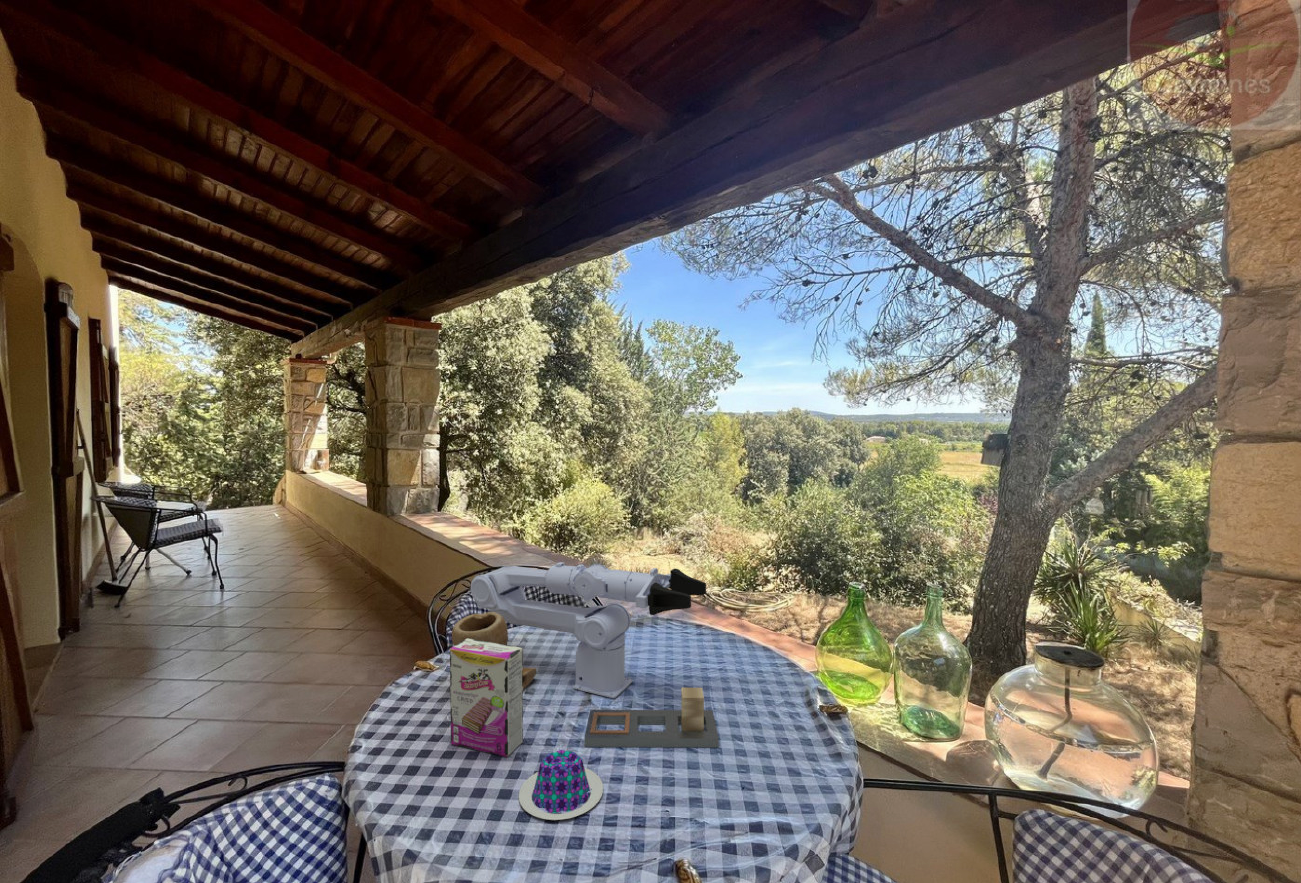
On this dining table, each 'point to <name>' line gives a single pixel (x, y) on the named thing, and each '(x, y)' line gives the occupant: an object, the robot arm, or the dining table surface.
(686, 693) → the birch peg
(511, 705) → the candy bar box
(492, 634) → the stone cup
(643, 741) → the gray peg hole board
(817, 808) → the dining table surface
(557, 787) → the pudding
